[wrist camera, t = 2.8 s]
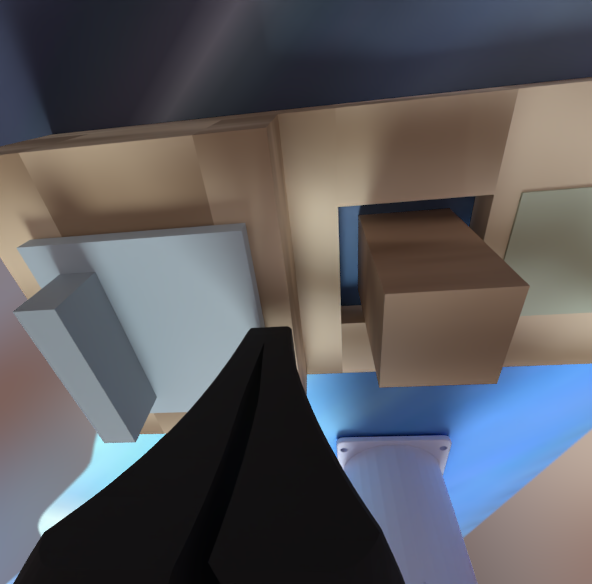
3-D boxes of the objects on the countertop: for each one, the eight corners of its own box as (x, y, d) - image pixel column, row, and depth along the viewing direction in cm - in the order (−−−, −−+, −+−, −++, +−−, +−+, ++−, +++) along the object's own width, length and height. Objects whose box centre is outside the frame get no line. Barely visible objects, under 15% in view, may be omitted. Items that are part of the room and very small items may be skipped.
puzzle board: (582, 343, 19) (661, 421, 14) (155, 361, 21) (115, 434, 17) (723, 63, 12) (958, 56, 7) (52, 134, 14) (-63, 161, 9)
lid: (278, 397, 14) (272, 455, 12) (124, 402, 15) (93, 458, 13) (245, 222, 10) (226, 264, 8) (30, 239, 11) (-43, 282, 8)
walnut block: (437, 284, 17) (496, 383, 11) (357, 288, 17) (379, 387, 12) (449, 208, 15) (530, 285, 9) (358, 215, 15) (384, 294, 10)
